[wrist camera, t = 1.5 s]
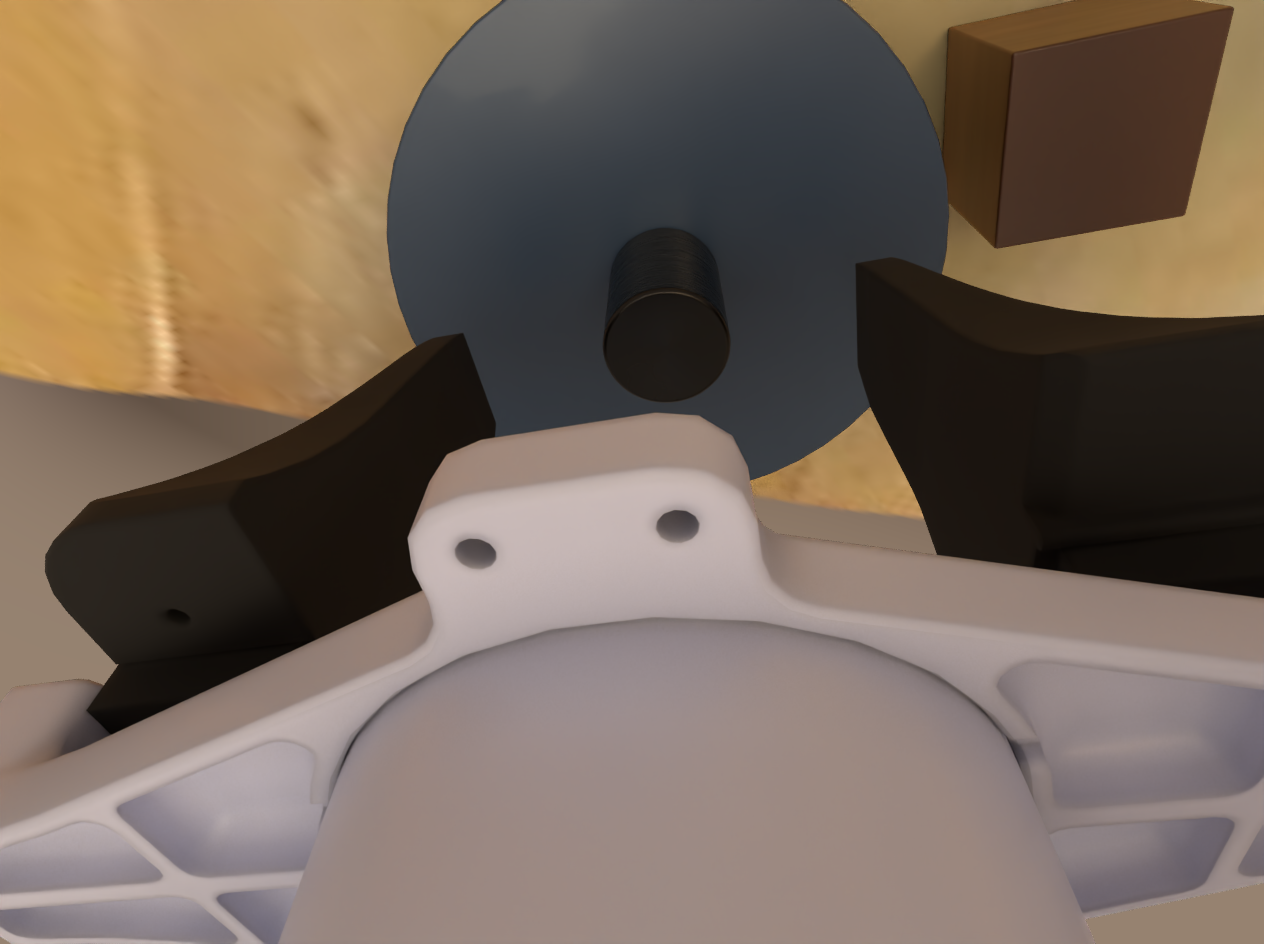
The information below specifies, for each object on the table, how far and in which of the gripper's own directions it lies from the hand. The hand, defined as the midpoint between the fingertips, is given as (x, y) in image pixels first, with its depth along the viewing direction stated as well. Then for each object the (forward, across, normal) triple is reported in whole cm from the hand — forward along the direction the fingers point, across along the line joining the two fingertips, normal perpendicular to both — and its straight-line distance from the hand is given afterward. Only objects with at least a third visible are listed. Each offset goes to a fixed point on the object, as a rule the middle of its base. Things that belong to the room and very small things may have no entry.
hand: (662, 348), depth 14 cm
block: (+9, -10, -1) cm, 14 cm away
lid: (+4, 0, 0) cm, 4 cm away
